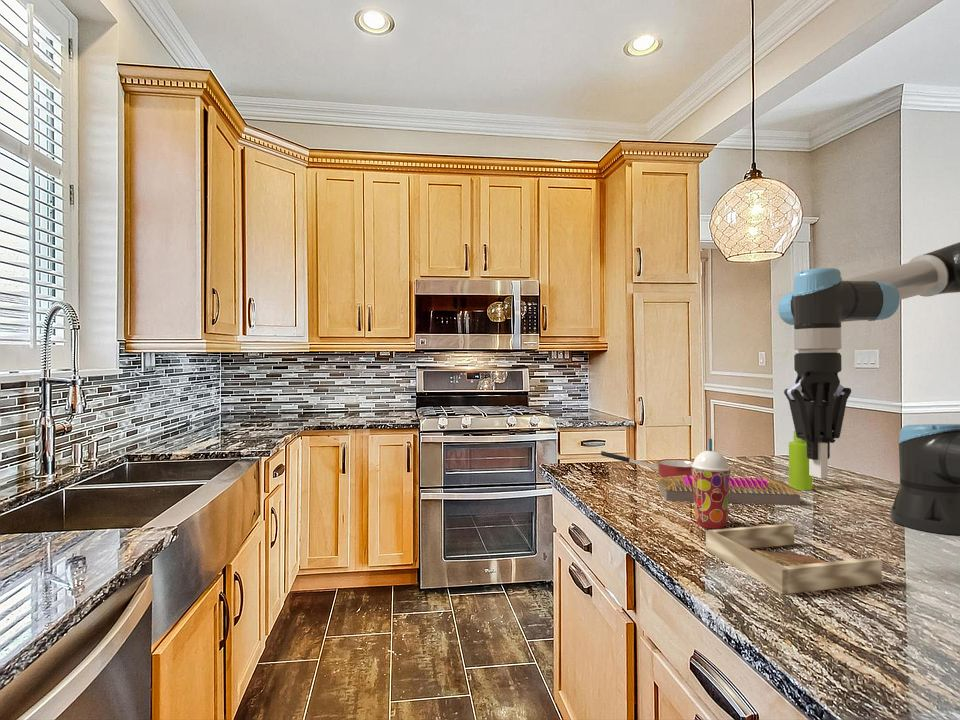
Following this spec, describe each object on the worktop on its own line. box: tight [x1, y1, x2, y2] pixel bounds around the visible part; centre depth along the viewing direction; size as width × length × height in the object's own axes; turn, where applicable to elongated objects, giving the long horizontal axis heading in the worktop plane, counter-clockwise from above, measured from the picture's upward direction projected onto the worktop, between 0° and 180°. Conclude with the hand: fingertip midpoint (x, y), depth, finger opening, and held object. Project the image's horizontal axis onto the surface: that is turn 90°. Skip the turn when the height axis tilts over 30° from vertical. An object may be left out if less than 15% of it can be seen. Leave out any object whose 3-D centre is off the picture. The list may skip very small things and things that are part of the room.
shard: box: [754, 548, 826, 567], centre depth 101 cm, size 11×8×2 cm
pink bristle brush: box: [655, 475, 806, 506], centre depth 147 cm, size 35×14×6 cm, turn 80°
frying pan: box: [600, 451, 694, 480], centre depth 177 cm, size 32×13×6 cm, turn 68°
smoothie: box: [691, 438, 732, 530], centre depth 123 cm, size 8×8×20 cm
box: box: [705, 522, 883, 595], centre depth 99 cm, size 20×20×4 cm
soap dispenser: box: [788, 430, 813, 491], centre depth 156 cm, size 6×7×20 cm
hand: (818, 476), depth 100 cm, fingers closed
